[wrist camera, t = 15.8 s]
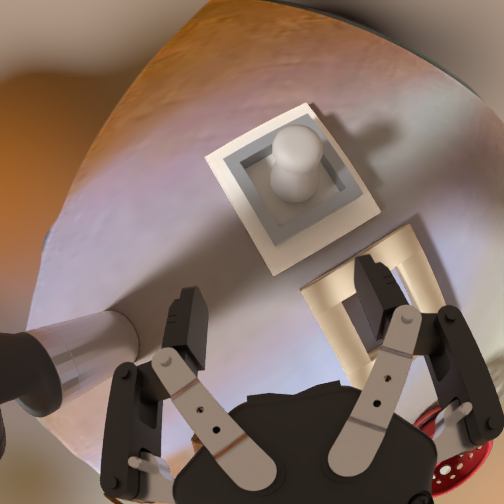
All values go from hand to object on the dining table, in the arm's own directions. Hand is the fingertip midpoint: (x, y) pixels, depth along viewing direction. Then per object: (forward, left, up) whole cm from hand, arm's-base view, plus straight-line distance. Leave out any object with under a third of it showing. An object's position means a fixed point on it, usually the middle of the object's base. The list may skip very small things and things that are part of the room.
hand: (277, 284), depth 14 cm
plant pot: (+9, -37, -21) cm, 44 cm away
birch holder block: (+9, -11, -21) cm, 25 cm away
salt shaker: (+7, +8, -20) cm, 23 cm away
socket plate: (+7, +9, -21) cm, 24 cm away
